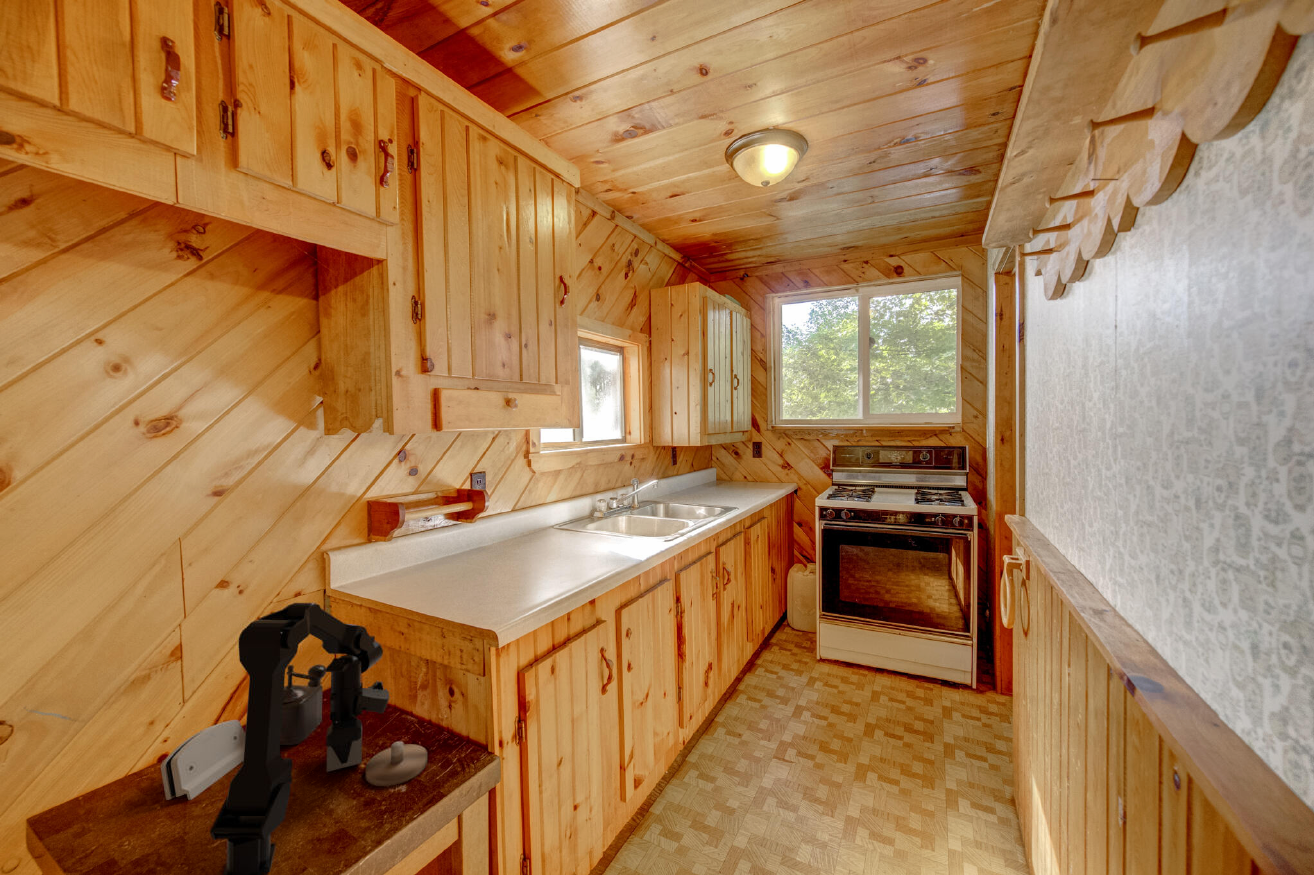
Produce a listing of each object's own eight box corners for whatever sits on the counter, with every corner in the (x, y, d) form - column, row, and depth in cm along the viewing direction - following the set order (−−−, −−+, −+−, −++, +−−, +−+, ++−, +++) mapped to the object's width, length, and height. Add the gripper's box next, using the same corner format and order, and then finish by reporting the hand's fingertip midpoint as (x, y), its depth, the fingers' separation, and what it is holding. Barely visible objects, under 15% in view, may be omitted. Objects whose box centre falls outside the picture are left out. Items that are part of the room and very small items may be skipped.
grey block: (361, 763, 112) (361, 740, 112) (326, 772, 109) (327, 748, 109) (361, 747, 118) (362, 725, 118) (328, 755, 115) (329, 733, 115)
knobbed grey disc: (429, 775, 110) (430, 751, 110) (365, 793, 104) (365, 768, 104) (424, 745, 120) (424, 724, 120) (365, 760, 114) (365, 738, 114)
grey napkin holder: (189, 801, 101) (173, 752, 101) (167, 808, 101) (151, 760, 101) (258, 749, 118) (244, 708, 118) (239, 755, 118) (225, 714, 118)
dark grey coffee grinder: (248, 749, 118) (249, 671, 118) (279, 722, 129) (280, 650, 129) (319, 746, 119) (321, 669, 119) (344, 720, 130) (345, 649, 130)
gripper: (388, 694, 109) (387, 767, 109) (385, 660, 125) (384, 724, 125) (326, 706, 104) (325, 784, 104) (331, 669, 120) (330, 736, 120)
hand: (344, 754), depth 113 cm, fingers closed on grey block, 6 cm apart
